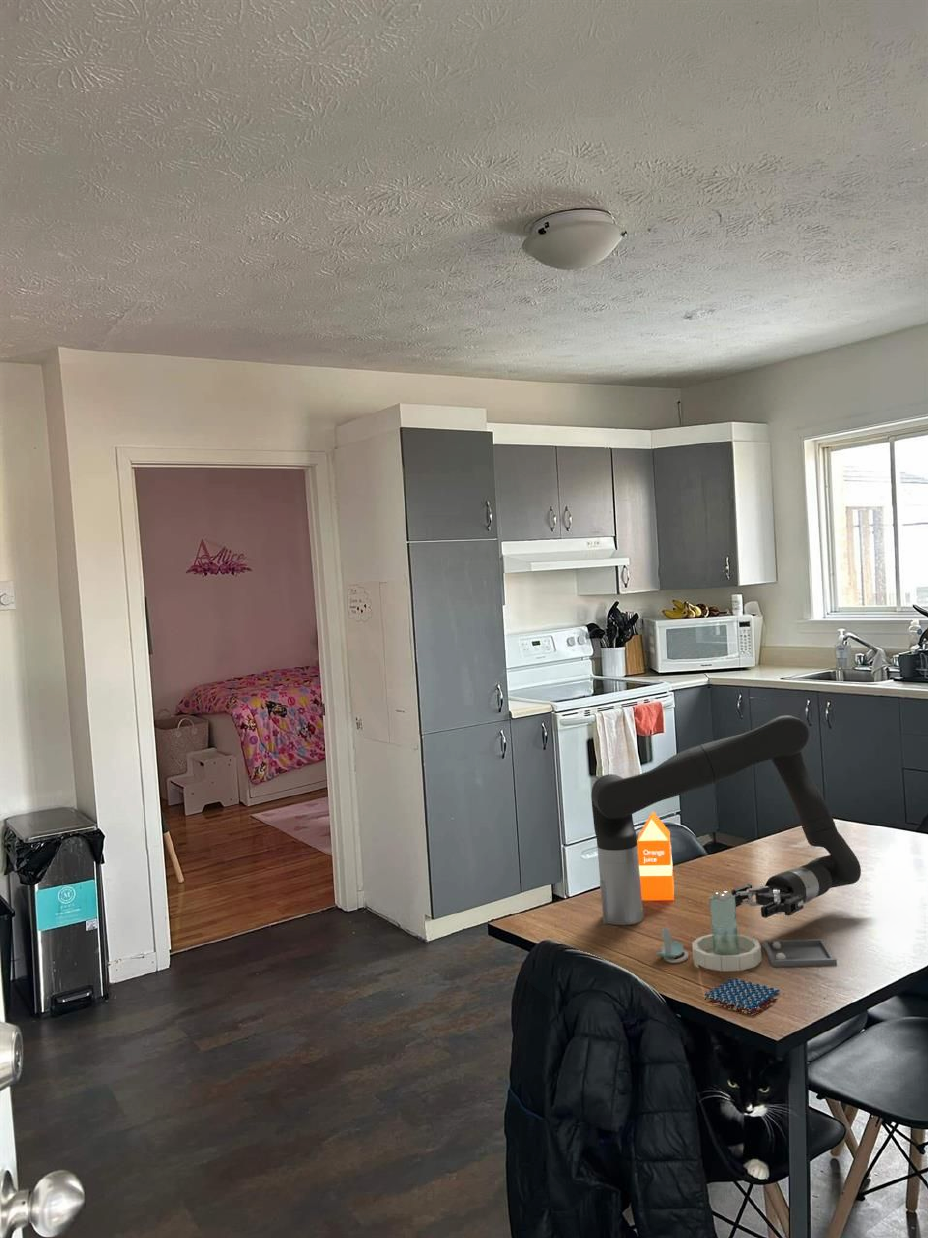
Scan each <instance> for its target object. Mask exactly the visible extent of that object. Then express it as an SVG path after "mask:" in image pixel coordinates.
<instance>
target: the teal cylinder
mask: <svg viewBox="0 0 928 1238" xmlns="http://www.w3.org/2000/svg"><path fill="white" fill-rule="evenodd" d="M708 898H709V900H708V901H709V911H710V912H709V913H710V922H711V924H710V925H711V934H712V938H713V950H714V954H716V955H739V954H740V953H739V941H738V934H739V932H738V931H739V930H738V918H737V917H738V916H737V907H736V905H735V897H734V896H733V895H732V894H731V892H729V891H728V890H724V891H722V892H718V891H716V892H713V894H712V895H710V896H709V897H708Z"/></svg>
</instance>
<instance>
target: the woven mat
mask: <svg viewBox="0 0 928 1238" xmlns="http://www.w3.org/2000/svg"><path fill="white" fill-rule="evenodd" d="M718 986H719V987H713V989H714V990H713V989H711V990H709V993H707V992H705V993H704V997H705V996H706V997H705V998H704V1001H705V1000H706V1001H705V1003H706V1002H708V1003H707V1004H710V1002H711V1003H717V1004H716V1006H717V1005H718V1006H717V1007H720V1006H719V1005H721V1004H723V1007H724V1006H728V1007H727V1010H729V1009H731V1008H733V1009H731V1010H733V1011H734V1010H735V1012H737V1011H736V1010H739V1011H741V1010H744V1011H743V1013H744V1014H745V1015H748V1014H747V1013H749V1012H750V1013H751V1014H750V1013H749V1014H750V1016H752V1015H754V1014H756V1013H757V1014H758V1013H761V1012H763V1010H764V1009H766V1008H768V1006H767V1005H769V1004H770V1005H772V1004H775V1003H776V1001H778V1000H779V998H773V997H774V995H778V993H779V992H781V991H780V989H776V988H774V987H770V986H767V985H763V984H759V983H757V984H756V983H753V982H751V981H750V982H748V980H747V981H745V980H744V979H743V980H741V979H740V978H736V977H735V978H729V979H728V981H723V984H719V985H718ZM707 998H708V1000H707ZM709 999H710V1000H709ZM712 999H713V1000H712ZM771 1003H772V1004H771ZM770 1005H769V1006H770ZM729 1007H730V1008H729ZM741 1007H742V1008H741ZM755 1007H756V1008H755ZM763 1008H764V1009H763ZM762 1009H763V1010H762ZM757 1014H756V1015H757ZM754 1016H755V1015H754Z"/></svg>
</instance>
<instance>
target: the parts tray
mask: <svg viewBox="0 0 928 1238" xmlns="http://www.w3.org/2000/svg"><path fill="white" fill-rule="evenodd" d="M762 947H763V949H764V951H765V954H766V956H767V958H768V960H769V962H770V964H771V966H772V967H773V968H780V967H781V968H783V967H814V966H815V967H817V966H818V967H819V966H820V967H821V966H837V965H838V961H837V957H836V956H835V955H834V953H833V952H832V950H831V949H830V947H829V945H828V944H827V942H826V941H825V939H824V938H817V939H816V938H812V939H810V938H809V939H786V940H785V939H784V940H783V939H781V940H778V939H777V940H762Z"/></svg>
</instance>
